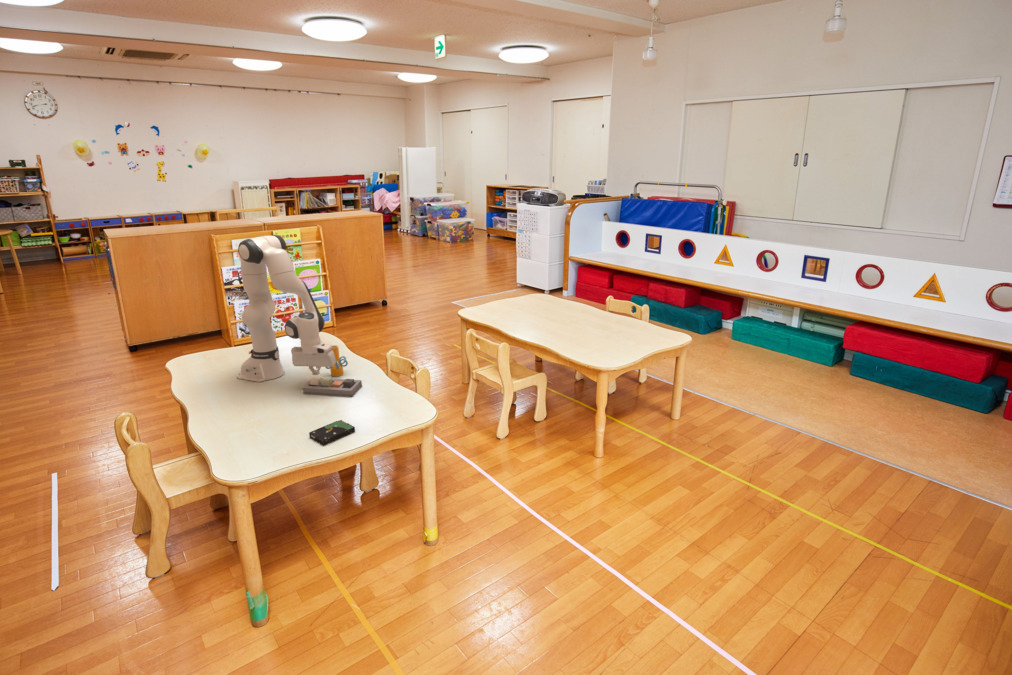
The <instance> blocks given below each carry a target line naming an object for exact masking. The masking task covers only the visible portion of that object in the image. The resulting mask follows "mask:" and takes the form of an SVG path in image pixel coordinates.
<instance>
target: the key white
mask: <svg viewBox="0 0 1012 675" xmlns="http://www.w3.org/2000/svg"><path fill="white" fill-rule="evenodd" d="M321 378H322V377H320V376H313V377H311V378H310V379H309V382H310V385H319V384H320V383H321Z"/></svg>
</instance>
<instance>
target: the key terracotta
mask: <svg viewBox="0 0 1012 675" xmlns="http://www.w3.org/2000/svg"><path fill="white" fill-rule="evenodd" d="M342 384H343V381H335V382H334V383H333V384H332V387H336V388H339V387H340V386H341V385H342Z"/></svg>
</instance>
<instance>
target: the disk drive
mask: <svg viewBox="0 0 1012 675" xmlns="http://www.w3.org/2000/svg"><path fill="white" fill-rule="evenodd" d="M353 433H356V429H355V426H353V425H352V424H350V423H348V422H346V421H344V420H342V419H340V420H336V421H334V422H331V423H329V424H327V425H324V426H322V427H318V428H317V429H314V430H312V431H310V432H308V436H309V438H310V439H312V440H313V441H315V442H316V441H317V443H318V444H319V443H320V444H319V445H321V444H322V445H321V446H323V447H324V446H326V445H329V444H330V443H332V442H335V441H337V440H339V439H342V438H344V437H347V436H348V435H351V434H353ZM328 443H329V444H328Z"/></svg>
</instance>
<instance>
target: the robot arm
mask: <svg viewBox="0 0 1012 675" xmlns="http://www.w3.org/2000/svg"><path fill="white" fill-rule="evenodd" d="M237 251H238V254H239V257H240V272H241V279H242V286H243V290H244V291H245V293H246V295H247V298H248V302H249V303H248V305H246V306H245V308H244V309H243V312H242V315H241V320H242V322H243V323H244V325H245V326H246V328H247V330H248V333H249V336H250V339H251V344H252V349H251V350H249V351H248V355H250V354H251V355H250V357H249V358H247V359H245V361H244V362H243V363H242V364H241V366H240V372H238V373H237V375H236V379H239V380H245V381H252V382H258V383H262V382H266V381H268V380H269V381H270V380H274V379H277V378H279V377H282V376H283V375H284V374H285V370H284V368H283V366H282V362H281V360H280V350H279V346H278V345H277V344H278V342H277V338H276V333H275V330H274V329H273V326H272V325H271V321H270V319H271V317H272V316H273V315H274V313H275V311H276V302H275V301H274V299H273V297H272V293H271V291H270V287H269V286H270V285H269V278H270V281H271V284H272V286H273V287H274V288H275V289H276V290H278V291H280V292H282V293H288V294H293V295H297V296H298V297H299V298H300V300H301V303H302V305H303V307H304V309H305V311H304V312H301V313H299V314H297V316H295V317H292V318H289V319H288V320H286V322H285V324H284V330H285V331H284V332H285V334H286V335H287V336H288V337H289V338H291V339H294V340H295V339H296V340H297V339H299V340H300V346H293V347H292V348H291V349H290V352H291V355H292V356H291V363H292V365H293V366H294V367H308V369H309V371H310V372H311V374H312V376H319V375H320V374H321V372H320V370H321V368H322V367H323V368H326V367H333V366H334V365H335V363H336V359H335V355H334V352H333V351H332V350H331V349H332V346H333V345H332V344H331V343H327V342H324V341H322V340H321V337H320V333H321V332H322V331H323V329H324V327H325V324H326V323H325V319H324V317H323V316H322V313H321V312H320V311H319V308H318V307H317V305H316V302H315V300H314V298H313V296H312V294H311V291H310V288H309V287H308V285H307V284H306V282H305V281H303V280H301V278H299V276H298V275H297V273H296V270H295V267H294V264H293V262H292V259H291V257H290V255H289V253H288V252H287V244H286V241H285V238H283V237H282V236H281V235H279V234H278V235H277V234H270V235H260V236H257V237H252V238H247V239H244V240H242V241H240V242H239V244H238V248H237ZM267 270H268V271H267ZM268 274H269V278H268ZM314 368H316V370H315V369H314Z"/></svg>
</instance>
